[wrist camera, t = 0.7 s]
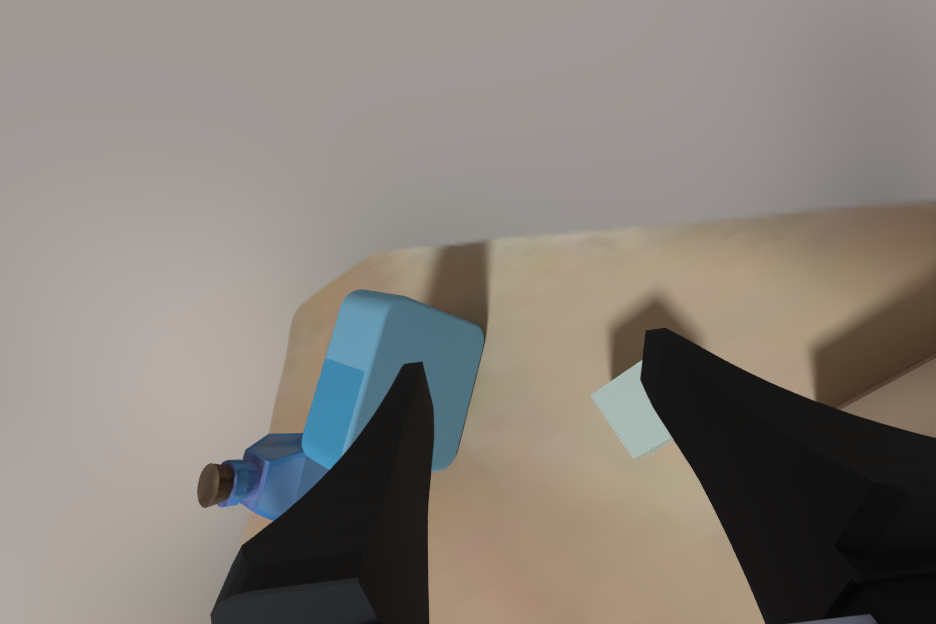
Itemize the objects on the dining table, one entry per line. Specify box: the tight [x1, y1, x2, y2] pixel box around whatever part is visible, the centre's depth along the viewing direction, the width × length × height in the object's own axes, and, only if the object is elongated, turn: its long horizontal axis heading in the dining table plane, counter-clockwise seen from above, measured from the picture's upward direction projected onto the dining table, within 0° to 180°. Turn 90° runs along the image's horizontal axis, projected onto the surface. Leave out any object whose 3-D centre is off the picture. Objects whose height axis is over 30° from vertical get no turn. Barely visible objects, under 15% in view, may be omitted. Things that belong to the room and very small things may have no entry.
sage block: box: [590, 360, 673, 459], centre depth 24 cm, size 4×4×5 cm
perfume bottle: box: [197, 433, 329, 521], centre depth 35 cm, size 6×6×12 cm
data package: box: [302, 290, 484, 472], centre depth 30 cm, size 12×4×12 cm, turn 163°
